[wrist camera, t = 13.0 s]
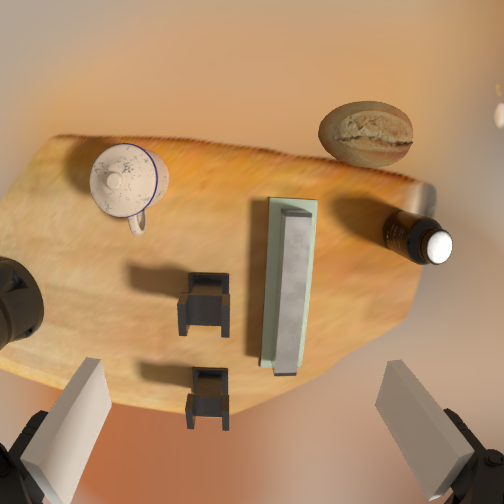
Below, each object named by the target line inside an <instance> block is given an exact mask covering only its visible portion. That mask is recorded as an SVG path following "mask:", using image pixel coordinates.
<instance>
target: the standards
mask: <svg viewBox="0 0 504 504" xmlns="http://www.w3.org/2000/svg"><path fill="white" fill-rule="evenodd" d="M177 310H178V328H179V336H187V333H188V329H189V326H190V325H203V326H221V337H225V338H229V331H230V294H229V274H213V273H189V293H182V294H181V296H180V299H179V301H178V303H177ZM193 383H194V394H188V396H187V402H186V407H185V411H186V420H187V428H188V429H194V425H195V417H196V416H204V417H222V426H223V427H222V428H223V430H225V431H229V395H228V369H227V368H197V367H193Z"/></svg>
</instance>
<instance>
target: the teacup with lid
mask: <svg viewBox="0 0 504 504" xmlns="http://www.w3.org/2000/svg"><path fill="white" fill-rule="evenodd" d="M168 184H169V172H168V168H167V166H166V164H165V162H164V161H163V159H162V158H161V157H160V156H158V155H157V154H156V153H154V152H152V151H148V150H145V149H142V148H141V147H139V146H136V145H133V144H128V143H123V144H117V145H114V146H111V147H109V148H108V149H106V150H105V151H104V152H102V153H101V154H100V155H99V157H98V158H97V159H96V161H95V162H94V164H93V166H92V169H91V172H90V178H89V186H90V192H91V195H92V197H93V199H94V201H95V203H96V204H97V205H98V207H99V208H100V209H101V210H103V211H104V212H105V213H107V214H109V215H111V216H114V217H120V218H126V217H128V222H129V226H130V229H131V232H132V233H133V234H134V235H135V236H140V235H143V234H144V232H145V229H146V212H145V209H146V208H148V207H151V206H153V205H155V204H156V203H157V202H159V201H160V200H161V199H162V197H163V196H164V194H165V193H166V191H167V188H168ZM137 217H138V219H137Z"/></svg>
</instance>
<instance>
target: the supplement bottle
mask: <svg viewBox="0 0 504 504" xmlns="http://www.w3.org/2000/svg"><path fill="white" fill-rule="evenodd" d="M383 238H384V242H385V244H386V245H387V247H388V248H389V249H390V250H392V251H394V252H395V253H397V254H399V255H401V256H403V257H405V258H407V259H408V260H410V261H412V262H414V263H416V264H419V265H427V264H430V263H432V264H434V265H438V264H441V263H443V262H445V261H446V260H447V259H448V257H449V256H450V254H451V251H452V244H453V243H452V238H451V236H450V235H449V233H448V232H447V231H446V230H443V229H442V227H441V226H440V224H439V223H438V222H437V221H435V220H434V219H432V218H429V217H425V216H421V215H417V214H413V213H410V212H405V211H399V212H396V213H394V214H392V215H391V216H390V217H389V218H388V219H387V221H386V222H385V225H384V228H383Z"/></svg>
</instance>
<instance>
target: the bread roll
mask: <svg viewBox="0 0 504 504" xmlns="http://www.w3.org/2000/svg"><path fill="white" fill-rule="evenodd" d="M318 137H319V140H320V142H321V143H322V145H323V147H324V148H325V150H326V151H327V152H328V153H330V154H331V155H332V156H333V157H335V158H336V159H337V160H339V161H342V162H344V163H346V164H350V165H353V166H358V167H369V168H374V167H383V166H388V165H391V164H393V163H395V162H397V161H399V160H400V159H402V158H403V157H404V156H405V155H406V154H407V152H408V150H409V149H410V146H411V145H412V143H413V142H412V138H413V129H412V124H411V121H410V119H409V118H408V116H407V115H406V114H405V113H404V112H402V111H401V110H400V109H397V108H396V107H394V106H391V105H388V104H386V103H382V102H374V101H363V102H353V103H349V104H345V105H343V106H340V107H338V108H336V109H334V110H333V111H331V112H330V113H329V114H328V115H327V116H326V117H325V118H324V119H323V120H322V122H321V124H320V127H319V132H318Z"/></svg>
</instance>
